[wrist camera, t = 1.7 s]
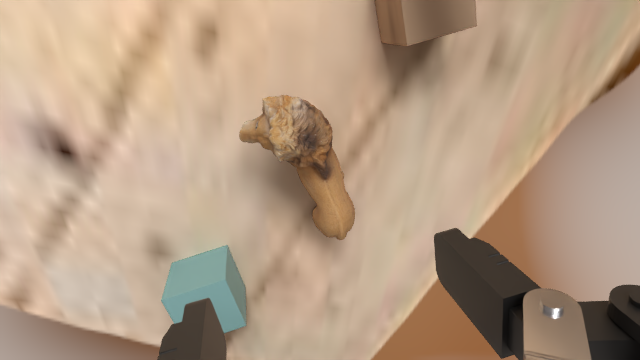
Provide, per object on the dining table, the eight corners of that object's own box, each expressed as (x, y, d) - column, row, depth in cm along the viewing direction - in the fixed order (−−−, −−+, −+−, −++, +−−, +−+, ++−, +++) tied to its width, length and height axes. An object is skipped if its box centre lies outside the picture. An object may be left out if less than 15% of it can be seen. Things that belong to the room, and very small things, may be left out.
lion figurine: (230, 102, 28) (227, 134, 20) (289, 64, 28) (310, 80, 20) (325, 235, 35) (351, 300, 26) (373, 205, 34) (415, 261, 26)
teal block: (227, 244, 33) (225, 279, 28) (245, 286, 35) (246, 325, 31) (172, 262, 33) (161, 300, 28) (193, 304, 35) (187, 346, 30)
